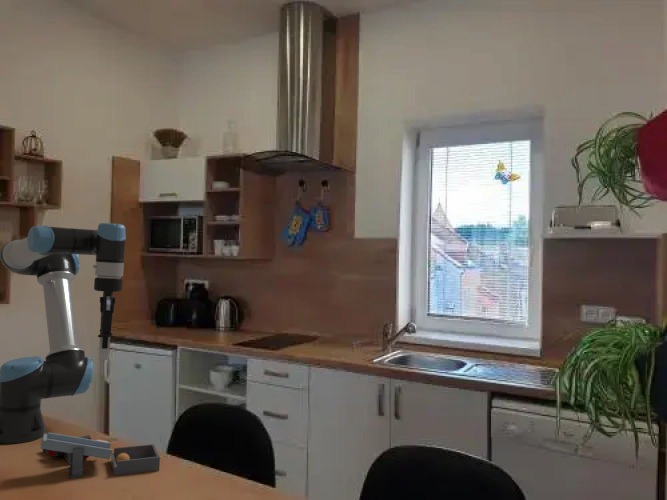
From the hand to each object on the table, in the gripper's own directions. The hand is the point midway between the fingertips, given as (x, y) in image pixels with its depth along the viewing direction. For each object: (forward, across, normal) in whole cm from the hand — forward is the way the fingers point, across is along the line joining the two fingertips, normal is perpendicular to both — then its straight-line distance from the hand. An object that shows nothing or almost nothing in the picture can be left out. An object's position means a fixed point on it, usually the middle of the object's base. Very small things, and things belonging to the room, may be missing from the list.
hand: (103, 359), depth 160 cm
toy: (+27, 0, -8) cm, 28 cm away
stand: (+26, +14, -6) cm, 30 cm away
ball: (+25, +14, +6) cm, 29 cm away
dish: (+26, +14, +9) cm, 31 cm away
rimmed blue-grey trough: (+21, +11, -6) cm, 24 cm away
